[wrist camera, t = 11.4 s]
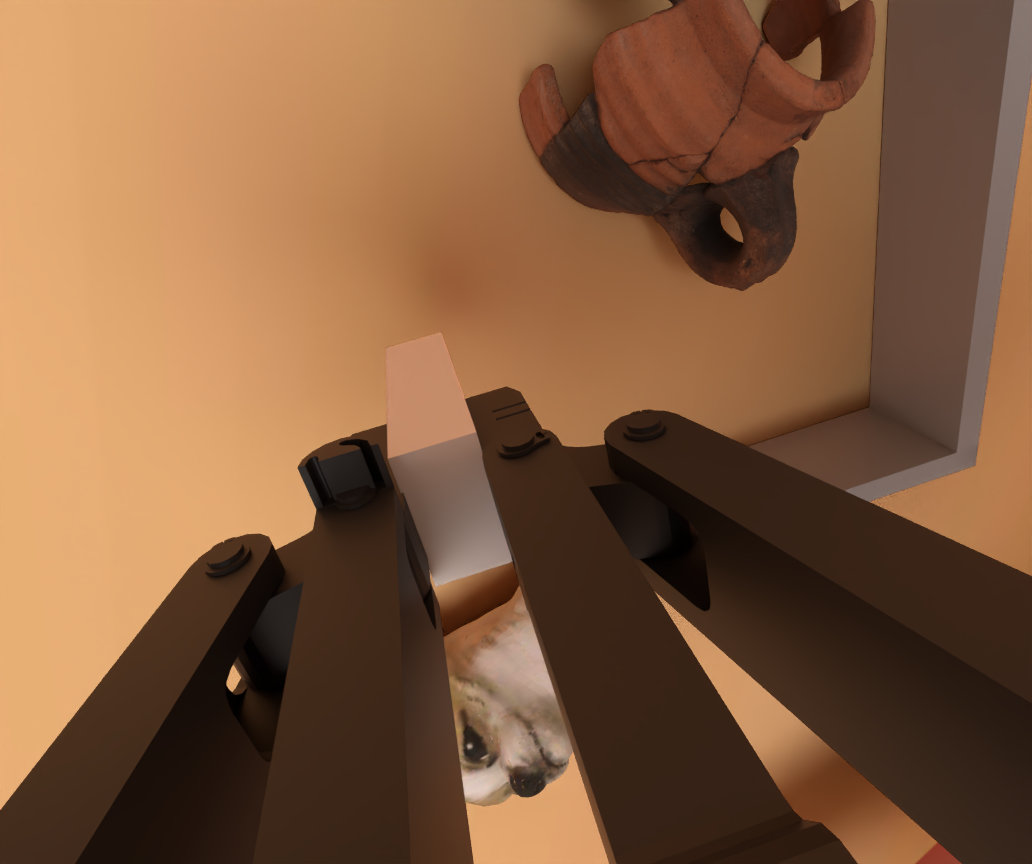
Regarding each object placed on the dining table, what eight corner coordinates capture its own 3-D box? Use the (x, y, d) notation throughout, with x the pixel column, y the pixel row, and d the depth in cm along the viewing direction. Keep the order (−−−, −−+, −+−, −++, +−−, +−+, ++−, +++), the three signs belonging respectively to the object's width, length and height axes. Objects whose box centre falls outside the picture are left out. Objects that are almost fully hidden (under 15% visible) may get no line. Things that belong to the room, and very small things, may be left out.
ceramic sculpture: (740, 760, 25) (454, 932, 27) (661, 609, 32) (443, 753, 35) (600, 620, 20) (268, 843, 22) (546, 482, 28) (303, 659, 30)
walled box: (886, 418, 30) (975, 465, 26) (562, 524, 29) (597, 593, 24) (928, -244, 19) (1094, -360, 15) (407, -129, 18) (419, -221, 13)
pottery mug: (452, 18, 20) (614, -223, 13) (642, -25, 24) (843, -225, 17) (600, 351, 23) (802, 304, 15) (748, 259, 27) (960, 190, 20)
